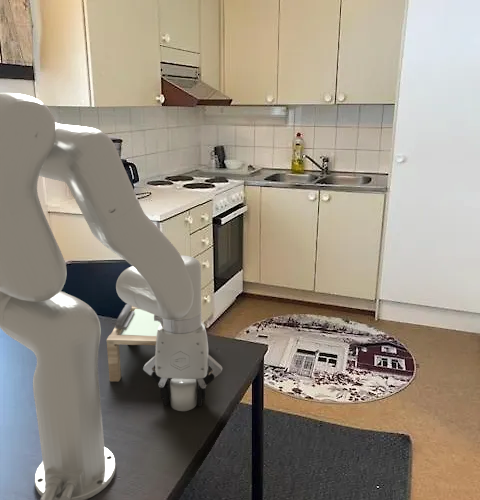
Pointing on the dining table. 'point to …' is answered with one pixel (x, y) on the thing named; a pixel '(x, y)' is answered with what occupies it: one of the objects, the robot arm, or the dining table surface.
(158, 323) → the trapdoor
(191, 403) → the stone
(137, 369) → the dining table surface
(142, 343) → the trapdoor frame
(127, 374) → the dining table surface
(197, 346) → the robot arm
